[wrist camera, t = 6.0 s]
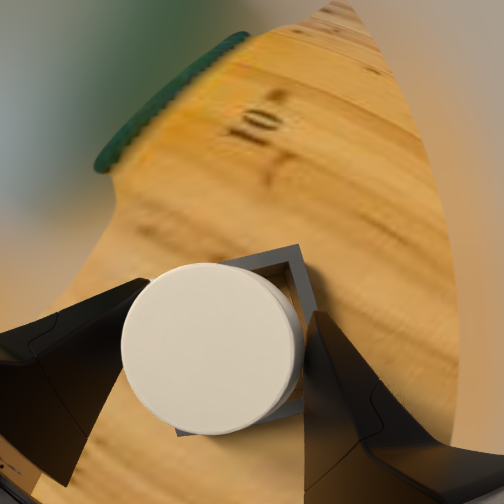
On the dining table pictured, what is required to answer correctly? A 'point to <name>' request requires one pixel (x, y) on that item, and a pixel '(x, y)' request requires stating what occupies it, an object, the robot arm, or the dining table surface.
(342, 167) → the dining table surface
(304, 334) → the collar
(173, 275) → the supplement bottle
